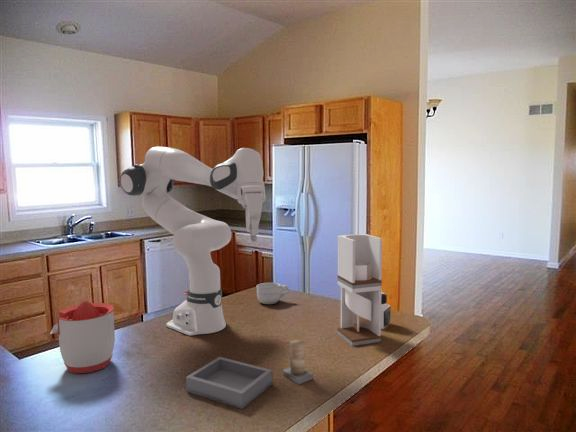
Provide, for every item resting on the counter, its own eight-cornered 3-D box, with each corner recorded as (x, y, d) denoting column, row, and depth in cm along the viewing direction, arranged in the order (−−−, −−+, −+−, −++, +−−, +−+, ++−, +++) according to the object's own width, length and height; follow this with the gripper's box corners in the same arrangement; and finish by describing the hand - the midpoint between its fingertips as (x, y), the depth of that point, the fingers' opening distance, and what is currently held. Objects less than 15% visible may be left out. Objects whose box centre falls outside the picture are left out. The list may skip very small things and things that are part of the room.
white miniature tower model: (337, 333, 154) (337, 235, 150) (364, 329, 157) (365, 233, 153) (352, 345, 143) (352, 240, 139) (380, 341, 146) (382, 238, 143)
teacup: (254, 305, 186) (253, 287, 186) (259, 298, 197) (259, 280, 196) (286, 307, 184) (286, 288, 183) (290, 299, 195) (290, 281, 194)
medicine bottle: (383, 329, 157) (384, 297, 156) (365, 326, 161) (365, 294, 160) (390, 323, 163) (390, 292, 162) (372, 320, 167) (372, 289, 166)
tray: (186, 391, 115) (185, 376, 115) (219, 369, 127) (219, 356, 127) (242, 409, 106) (241, 393, 106) (272, 384, 118) (272, 370, 118)
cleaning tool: (282, 375, 123) (282, 341, 122) (296, 370, 127) (296, 336, 126) (299, 384, 118) (298, 349, 117) (312, 378, 121) (312, 344, 120)
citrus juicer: (55, 361, 134) (51, 297, 132) (116, 351, 141) (112, 290, 139) (50, 383, 120) (45, 313, 118) (118, 371, 127) (114, 304, 125)
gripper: (240, 207, 148) (243, 246, 144) (242, 184, 129) (245, 230, 125) (259, 206, 149) (262, 245, 145) (263, 184, 130) (267, 228, 126)
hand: (254, 238), depth 135 cm, fingers open, 8 cm apart
